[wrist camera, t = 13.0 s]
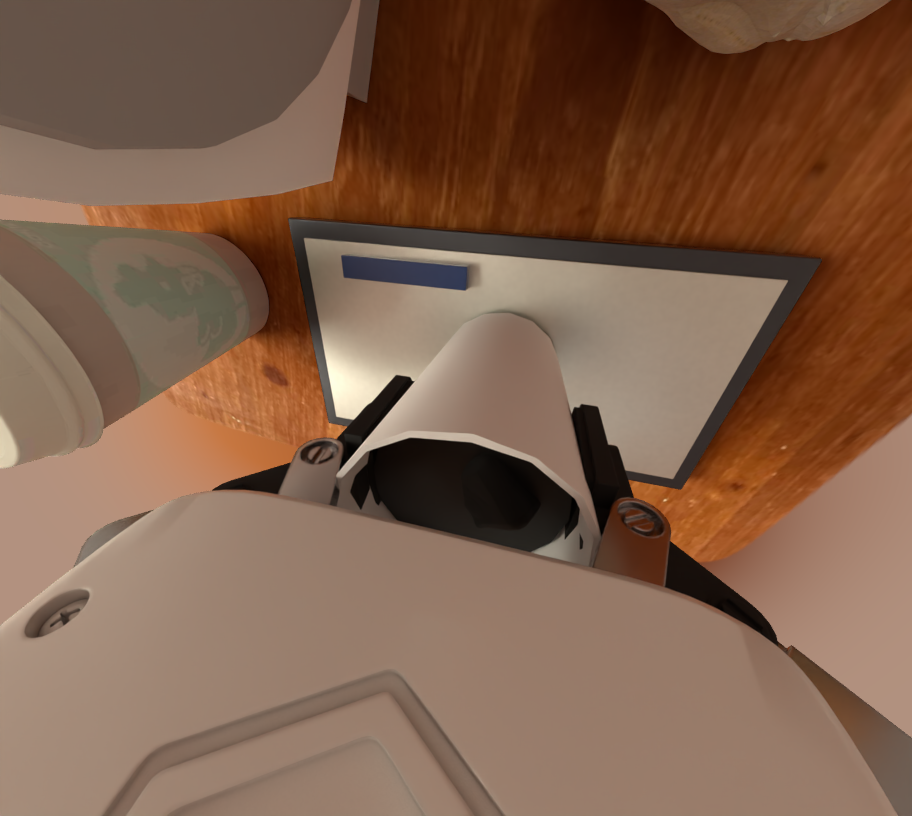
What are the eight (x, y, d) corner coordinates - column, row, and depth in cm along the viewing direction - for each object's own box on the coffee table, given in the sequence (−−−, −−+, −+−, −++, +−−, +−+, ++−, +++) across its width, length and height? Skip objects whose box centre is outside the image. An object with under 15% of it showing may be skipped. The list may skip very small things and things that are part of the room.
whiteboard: (804, 254, 13) (840, 261, 11) (675, 476, 19) (686, 500, 17) (301, 217, 16) (276, 218, 15) (337, 414, 23) (322, 429, 21)
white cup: (517, 270, 14) (482, 368, 5) (594, 386, 16) (656, 590, 7) (410, 353, 17) (284, 495, 9) (485, 441, 19) (442, 626, 11)
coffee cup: (292, 372, 21) (76, 513, 12) (177, 328, 22) (-129, 429, 12) (289, 234, 17) (-82, 272, 7) (142, 180, 17) (-421, 141, 7)
